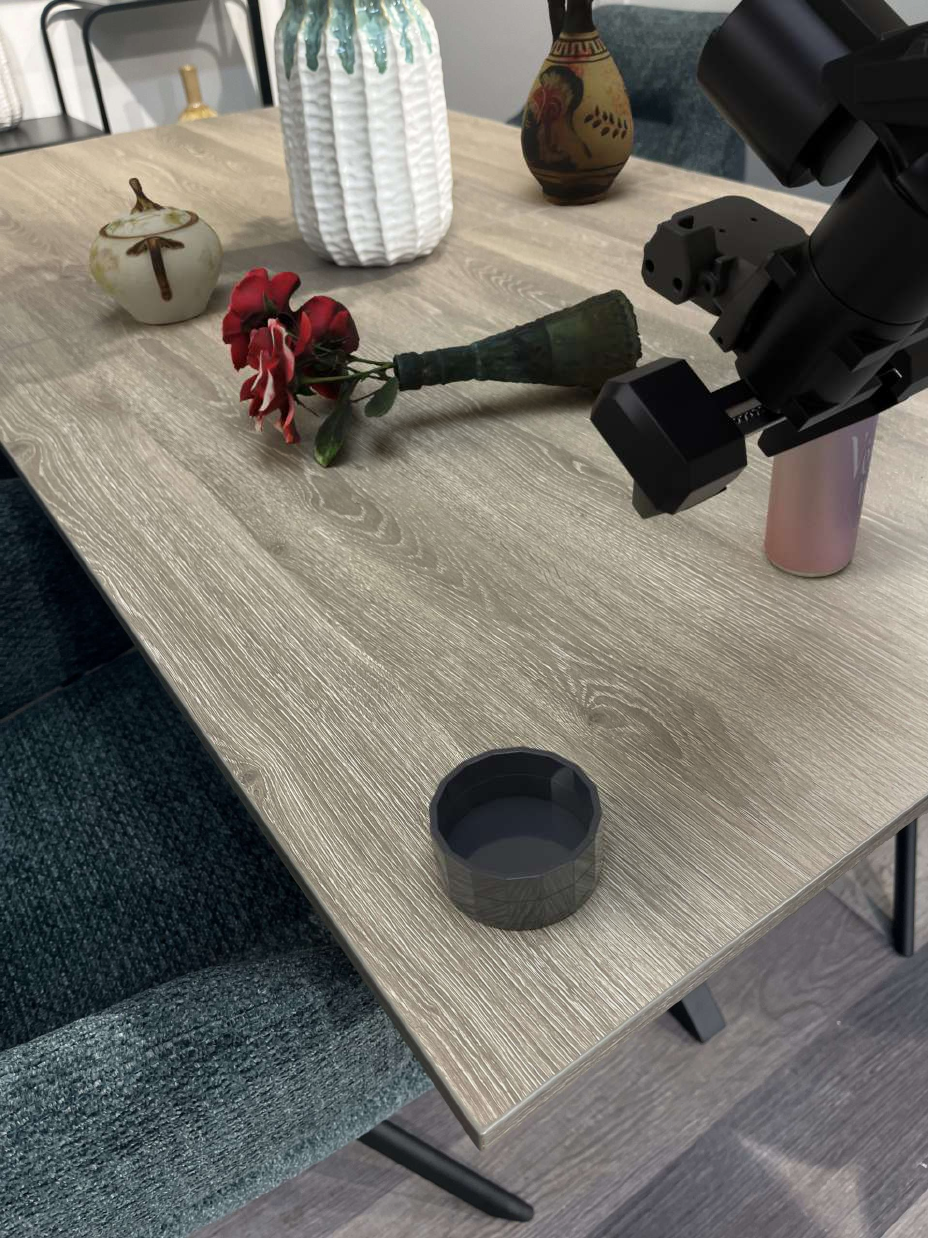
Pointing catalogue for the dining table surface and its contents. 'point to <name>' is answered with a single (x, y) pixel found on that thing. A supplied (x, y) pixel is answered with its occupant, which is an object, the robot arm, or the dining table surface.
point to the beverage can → (819, 501)
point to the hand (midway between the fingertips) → (703, 479)
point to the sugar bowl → (157, 261)
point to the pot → (517, 837)
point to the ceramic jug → (576, 112)
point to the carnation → (406, 354)
